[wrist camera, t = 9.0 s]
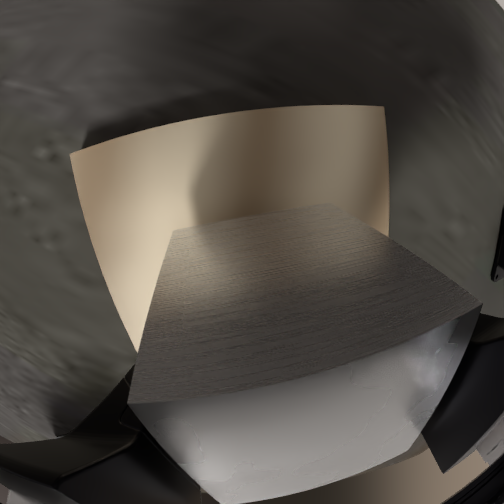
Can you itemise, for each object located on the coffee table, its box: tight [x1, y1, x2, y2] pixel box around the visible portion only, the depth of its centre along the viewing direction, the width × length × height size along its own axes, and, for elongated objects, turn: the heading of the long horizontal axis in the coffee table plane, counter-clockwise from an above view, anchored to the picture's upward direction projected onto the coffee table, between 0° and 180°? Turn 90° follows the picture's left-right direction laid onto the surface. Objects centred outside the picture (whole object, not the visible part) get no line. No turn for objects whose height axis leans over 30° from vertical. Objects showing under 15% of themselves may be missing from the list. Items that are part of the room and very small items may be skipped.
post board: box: [70, 105, 389, 353], centre depth 10 cm, size 13×13×5 cm
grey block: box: [127, 203, 483, 504], centre depth 7 cm, size 6×6×7 cm
